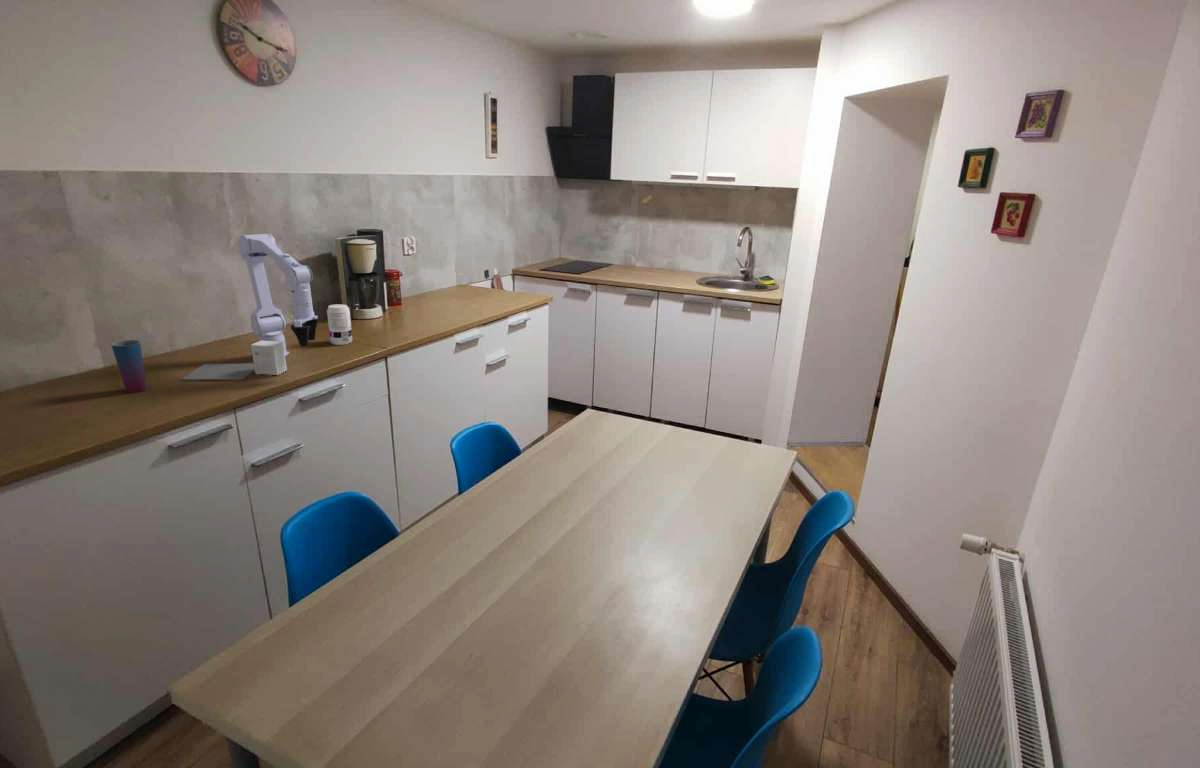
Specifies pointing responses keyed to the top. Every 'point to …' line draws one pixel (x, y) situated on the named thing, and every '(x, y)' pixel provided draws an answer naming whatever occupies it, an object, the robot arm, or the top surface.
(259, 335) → the robot arm
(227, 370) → the display mat
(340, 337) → the supplement can
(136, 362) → the cup
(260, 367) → the small box
